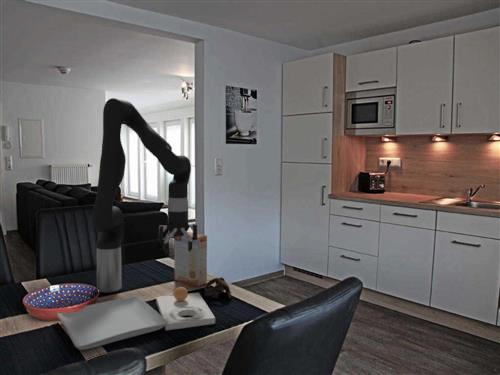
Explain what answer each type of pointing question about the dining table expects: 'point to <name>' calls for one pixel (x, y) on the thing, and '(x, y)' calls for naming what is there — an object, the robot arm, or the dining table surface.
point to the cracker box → (191, 260)
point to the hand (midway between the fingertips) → (177, 251)
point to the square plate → (111, 322)
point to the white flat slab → (184, 311)
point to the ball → (180, 293)
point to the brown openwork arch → (217, 287)
